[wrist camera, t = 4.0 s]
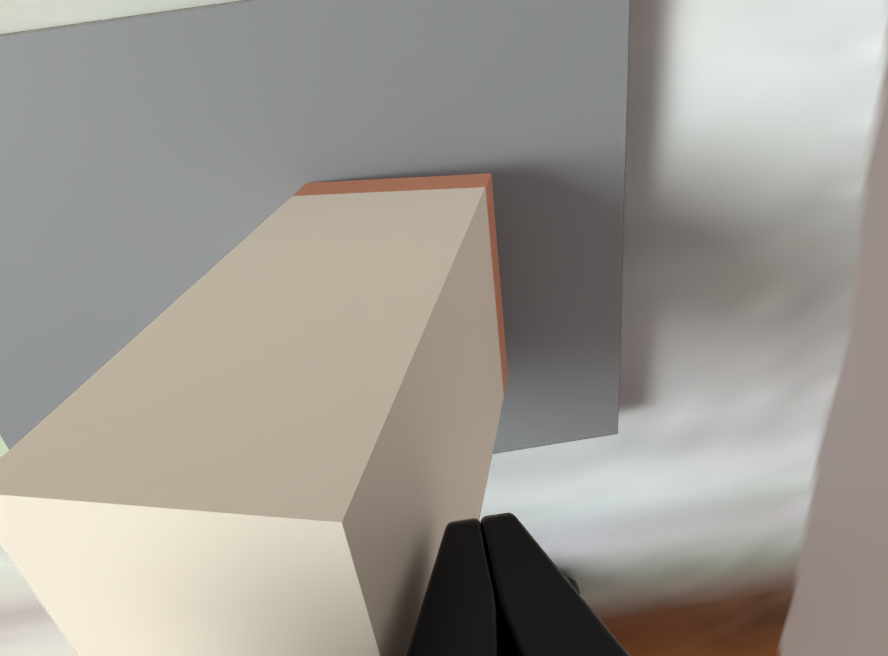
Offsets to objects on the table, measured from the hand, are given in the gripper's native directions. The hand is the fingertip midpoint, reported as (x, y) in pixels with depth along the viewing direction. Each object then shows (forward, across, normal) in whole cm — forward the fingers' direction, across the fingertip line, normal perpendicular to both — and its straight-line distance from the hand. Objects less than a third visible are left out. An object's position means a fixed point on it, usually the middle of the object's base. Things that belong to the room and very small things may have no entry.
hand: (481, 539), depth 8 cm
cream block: (+8, 0, 0) cm, 8 cm away
